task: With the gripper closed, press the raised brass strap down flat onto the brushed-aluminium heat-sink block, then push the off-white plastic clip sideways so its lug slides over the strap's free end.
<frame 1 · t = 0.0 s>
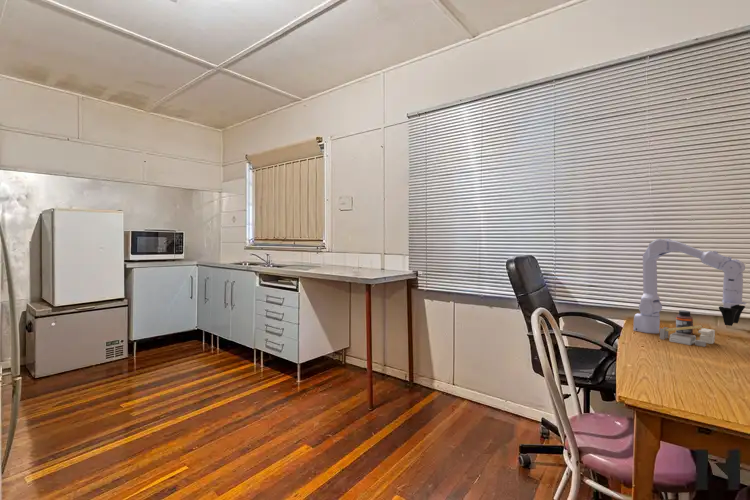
hand: (731, 324, 154), 10 cm above the table, fingers open, 7 cm apart
supplement bottle: (684, 336, 175), on the table
strap: (682, 328, 160), point 7 cm above the table, hinge at 18.0°
heatsink: (682, 342, 160), resting on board
clip: (705, 336, 158), point 4 cm above the table, slide at 0.0 cm
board: (683, 344, 160), on the table
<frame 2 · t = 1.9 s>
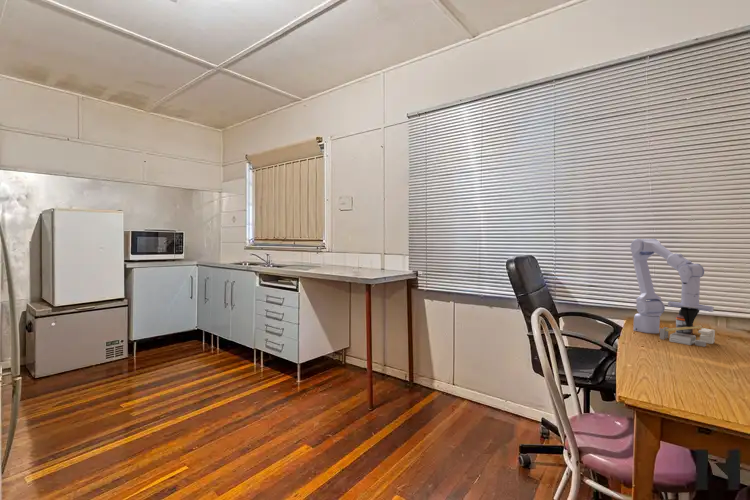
hand: (689, 326, 158), 8 cm above the table, fingers closed
strap: (682, 328, 160), point 7 cm above the table, hinge at 17.9°, touching gripper
everything else where it was.
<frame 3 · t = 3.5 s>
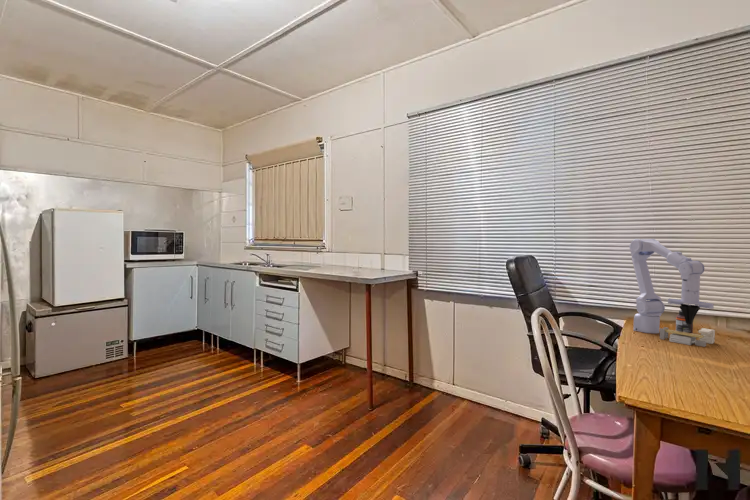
hand: (689, 323, 158), 9 cm above the table, fingers closed
strap: (682, 333, 160), point 5 cm above the table, hinge at 0.1°
everything else where it was.
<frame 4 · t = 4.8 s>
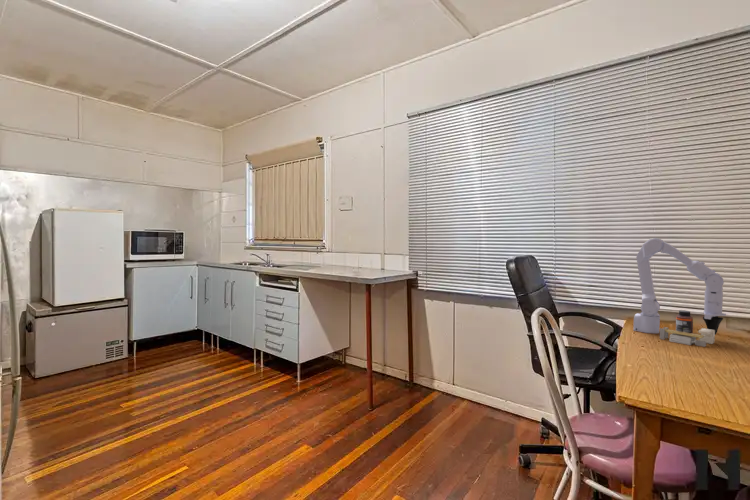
hand: (712, 334, 163), 4 cm above the table, fingers closed
nothing on the table moved.
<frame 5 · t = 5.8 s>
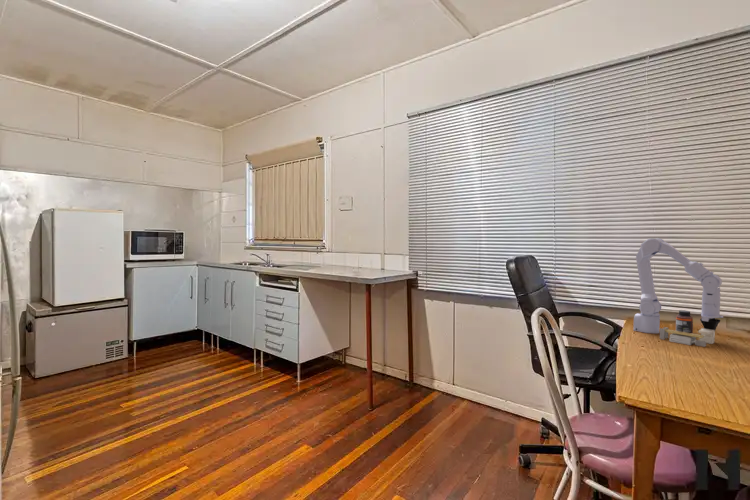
hand: (709, 336, 161), 3 cm above the table, fingers closed
clip: (705, 336, 158), point 4 cm above the table, slide at 0.0 cm, touching gripper
everything else where it was.
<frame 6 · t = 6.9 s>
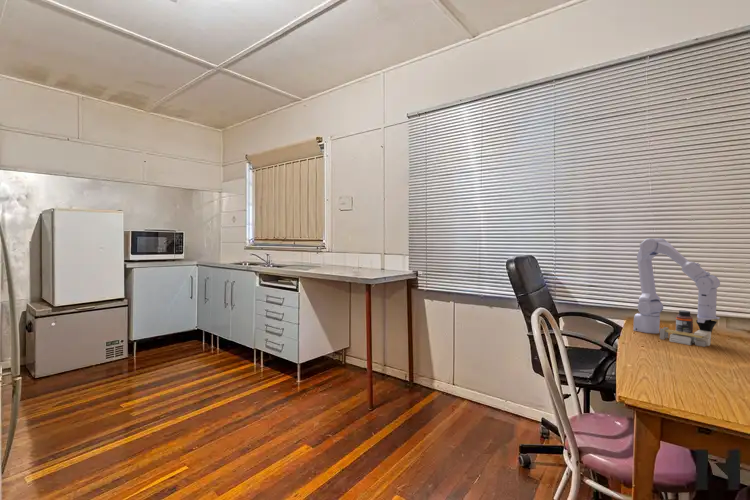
hand: (705, 338, 158), 3 cm above the table, fingers closed
clip: (701, 338, 155), point 4 cm above the table, slide at 5.0 cm, touching gripper
everything else where it was.
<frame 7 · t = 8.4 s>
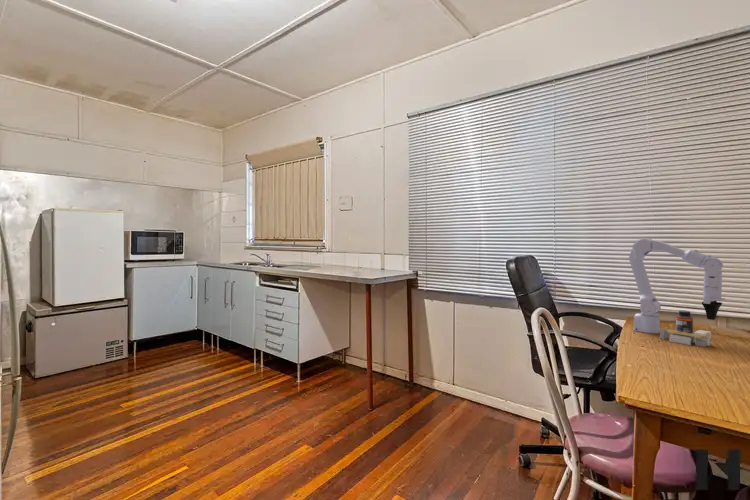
hand: (711, 319, 161), 10 cm above the table, fingers closed
clip: (701, 338, 155), point 4 cm above the table, slide at 5.0 cm
everything else where it was.
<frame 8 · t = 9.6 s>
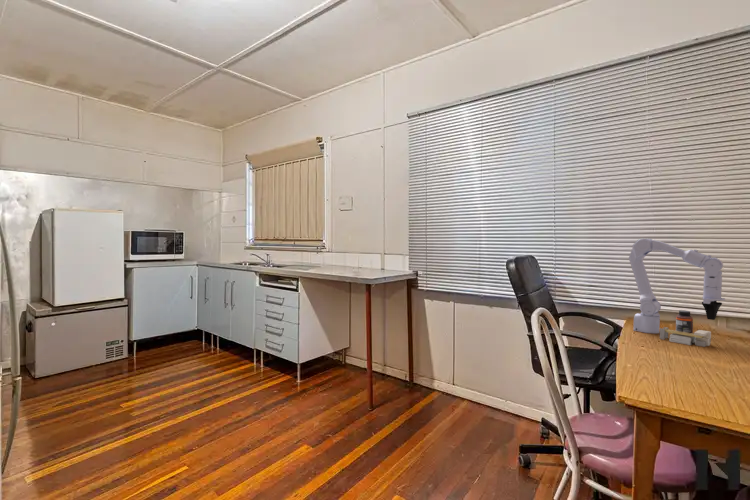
hand: (711, 319, 161), 10 cm above the table, fingers closed
nothing on the table moved.
at the end: strap at +0° (first picture: +18°); clip slide at 5.0 cm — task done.
